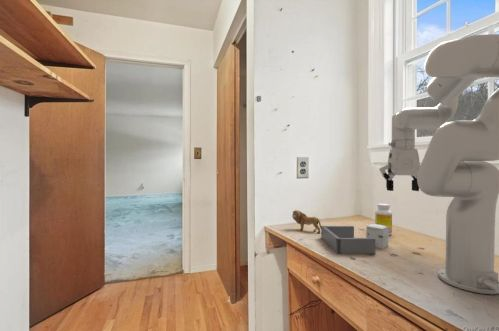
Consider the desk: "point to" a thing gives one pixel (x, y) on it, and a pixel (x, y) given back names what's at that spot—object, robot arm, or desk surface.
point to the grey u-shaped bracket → (346, 240)
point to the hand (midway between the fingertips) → (402, 190)
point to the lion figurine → (306, 220)
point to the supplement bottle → (384, 216)
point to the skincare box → (378, 234)
